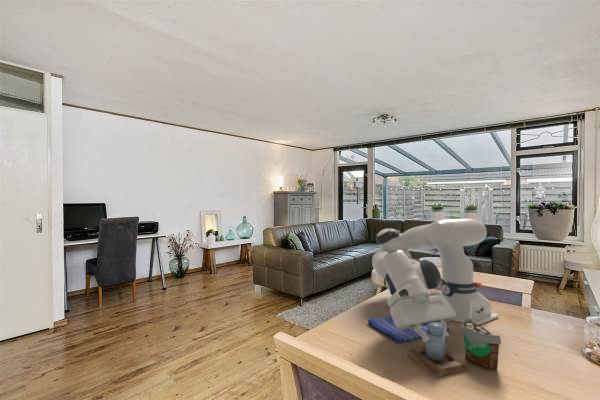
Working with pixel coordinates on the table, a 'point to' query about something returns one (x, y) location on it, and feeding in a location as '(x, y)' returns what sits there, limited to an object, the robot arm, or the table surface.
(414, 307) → the robot arm
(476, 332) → the food container
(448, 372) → the square wooden frame
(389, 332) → the dish towel
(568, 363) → the table surface
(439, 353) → the blue-grey shaker
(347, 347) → the table surface
